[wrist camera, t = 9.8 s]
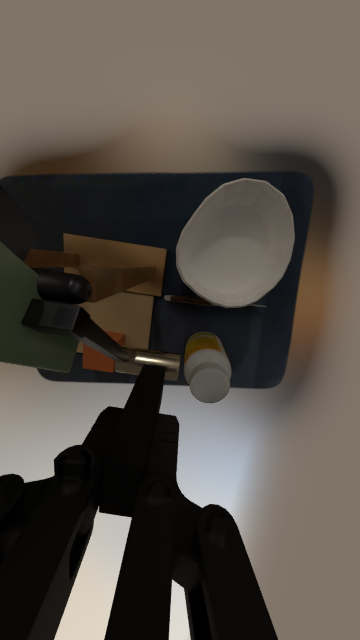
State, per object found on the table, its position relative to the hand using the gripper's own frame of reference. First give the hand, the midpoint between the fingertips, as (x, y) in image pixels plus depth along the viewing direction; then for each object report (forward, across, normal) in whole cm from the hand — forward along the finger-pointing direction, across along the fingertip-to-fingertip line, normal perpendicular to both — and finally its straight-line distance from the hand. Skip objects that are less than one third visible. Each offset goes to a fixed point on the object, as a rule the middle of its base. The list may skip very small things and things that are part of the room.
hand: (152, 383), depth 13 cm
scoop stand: (+15, -8, +6) cm, 18 cm away
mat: (+15, -8, -2) cm, 17 cm away
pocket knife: (+16, +6, +4) cm, 17 cm away
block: (+13, -8, -7) cm, 17 cm away
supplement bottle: (+15, +5, -3) cm, 16 cm away
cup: (+15, +5, +10) cm, 19 cm away
